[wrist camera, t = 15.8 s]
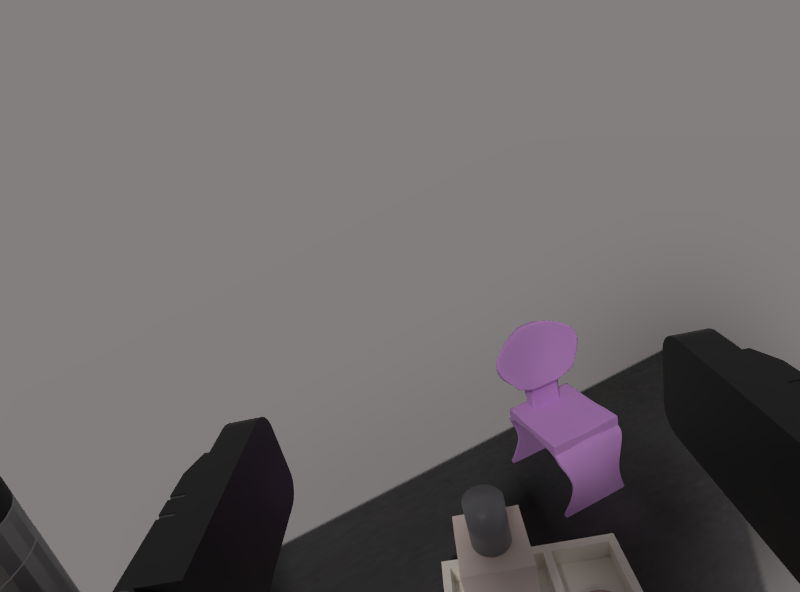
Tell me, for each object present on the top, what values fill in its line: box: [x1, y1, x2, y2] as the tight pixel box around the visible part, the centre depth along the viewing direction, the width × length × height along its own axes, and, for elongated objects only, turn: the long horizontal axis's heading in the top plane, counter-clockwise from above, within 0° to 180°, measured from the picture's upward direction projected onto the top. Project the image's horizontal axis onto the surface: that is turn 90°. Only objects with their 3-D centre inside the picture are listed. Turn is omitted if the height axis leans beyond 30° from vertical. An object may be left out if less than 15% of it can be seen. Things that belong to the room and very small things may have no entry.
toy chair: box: [496, 321, 625, 518], centre depth 41 cm, size 8×9×15 cm
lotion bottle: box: [452, 484, 541, 592], centre depth 28 cm, size 4×4×12 cm
